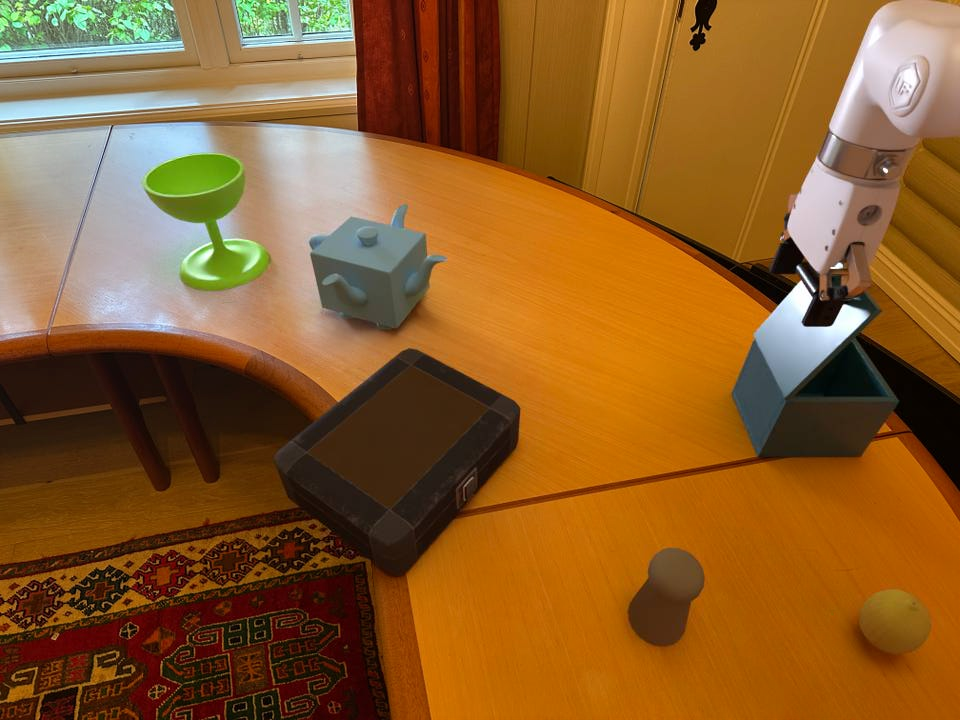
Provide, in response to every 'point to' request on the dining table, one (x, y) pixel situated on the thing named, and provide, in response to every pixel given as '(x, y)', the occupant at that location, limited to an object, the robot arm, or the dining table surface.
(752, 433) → the teal box
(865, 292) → the box lid
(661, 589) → the cork
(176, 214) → the wineglass
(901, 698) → the dining table surface
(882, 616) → the lemon
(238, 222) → the dining table surface
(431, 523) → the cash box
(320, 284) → the teakettle
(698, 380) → the dining table surface
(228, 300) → the dining table surface
